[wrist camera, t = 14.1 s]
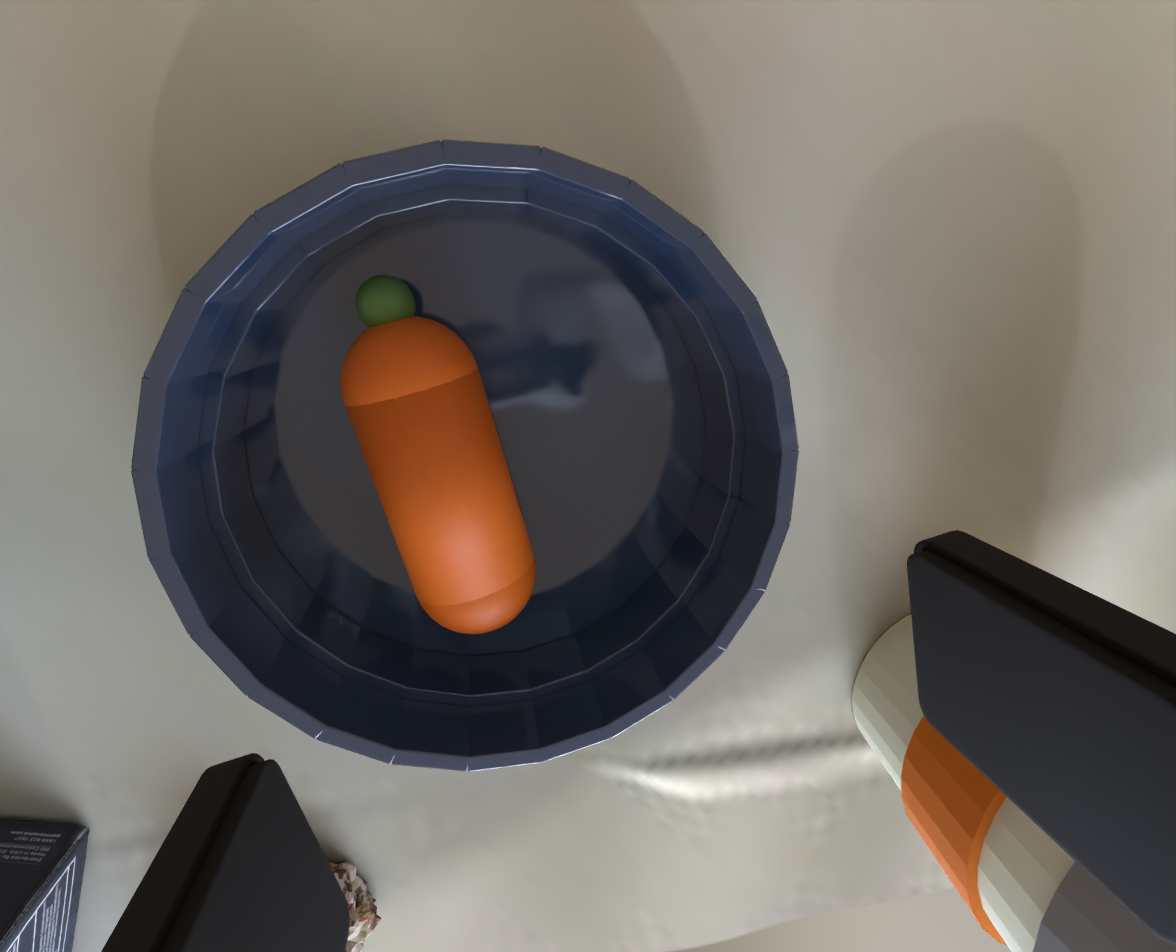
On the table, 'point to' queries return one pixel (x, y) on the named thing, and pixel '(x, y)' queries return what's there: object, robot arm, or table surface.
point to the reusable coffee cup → (983, 825)
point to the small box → (40, 884)
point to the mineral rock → (356, 905)
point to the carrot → (436, 462)
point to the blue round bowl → (527, 435)
